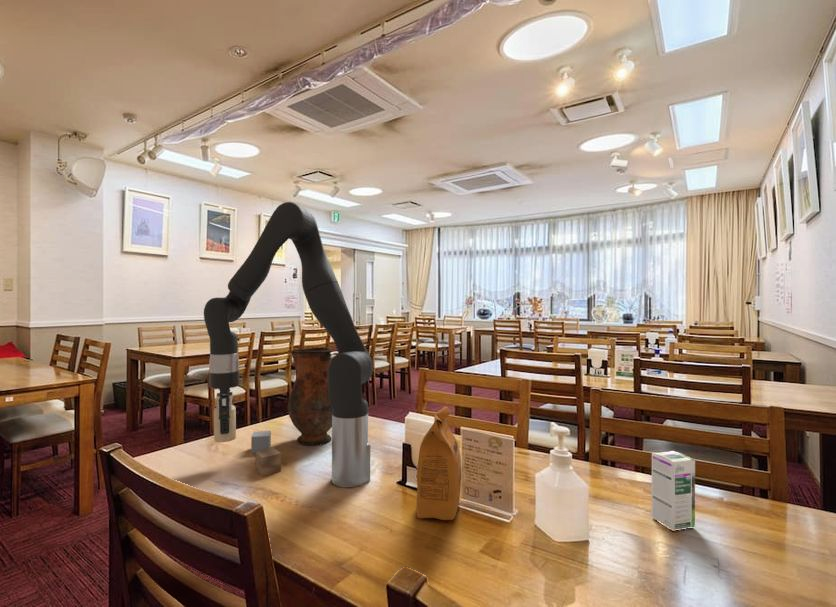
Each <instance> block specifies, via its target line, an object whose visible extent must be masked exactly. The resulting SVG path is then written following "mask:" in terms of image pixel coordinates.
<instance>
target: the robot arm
mask: <svg viewBox="0 0 836 607" xmlns="http://www.w3.org/2000/svg"><path fill="white" fill-rule="evenodd" d="M288 240H291V241H292V243H293V245H294V247H295V249H296V251H297V255H298V257H299V260H300V262H301V286H302V290H303V293H304V296H305V298H306V302H307V304H308V307H309V309H310V311H311V313H312V315H313V316H314V317H315V319H316V320H317V322H319V324H320V325H321V326H322V327H323V328H324V329H325V331H327V333H328V334H329V336H330V337H331V339H332V341H333V343H334V345H335V348H336V349H337V353H339V354H338V355H333V357H332V358H331V359H330V364H329V368H328V392H329V402H330V405H331V408H332V427H331V482H332V484H334V485H335V486H337V487H341V488H354V487H359V486H361V485H364V484H365V483H368V482H371V443H370V442H369V403H368V401H367V400H366V399H364V398H363V392H362V390H363V387H362V386H363V384H365V383H366V382H368V381H369V380H370V379H371V377H372V376H373V371H374V366H373V364H374V363H373V361H372V358H371V355H370V354H369V352H368V349H367V348H366V345H365V344H364V343H363V340H362V338H361V336H360V334H359V332H358V331H357V328H356V326H355V323H354V321H353V317H352V316H351V313H350V312H351V311H349V308H348V305H347V303H346V300H345V297H344V294H343V291H342V289H341V287H340V284H339V282H338V279H337V277H336V275H335V272H334V270H333V267H332V265H331V263H330V260H329V258H328V256H327V253H326V251H325V248H324V245H323V241H322V238H321V235H320V230H319V227H318V223H317V220H316V217H315V216H314V215H313V213H312V212H310V211H309V210H308V209H307V208H305V207H303V206H301V205H299V204H298V203H295V202H291V201H286V202H282V203H281V204H279V205H278V206H277V207H276V208H275V210H274V211H273V213H272V214H271V216H270V217H269V220H268V221H267V223H266V225H265V227H264V229H263V230H262V232H261V234H260V235H259V238H258V240H257V242H256V243H255V245H254V247H253V249H252V250H251V251H250V253H249V255H248V256H247V257H246V259H245V261H243V263H242V264H241V266H240V267H239V268H238V270H237V271H235V273H234V274H233V276H232V277H231V278H230V280H229V281H228V283H227V289H228V290H229V291H228V294H227V295H226V296H225V297H213V298H210V299H209V300H208V301H207V302H206V303H205V305H204V309H203V319H204V324H205V326H206V330H207V334H208V338H209V365H208V367H209V368H208V370H209V371H208V372H209V373H208V374H209V375H208V376H209V377H208V378H209V388H210V389H213V390H219V392H217V393H216V402H217V406H218V412H219V420H220V433H221V434H228V433H229V420H230V413H229V412H230V411H231V404H232V403H233V402H232V401H233V391H231V388H232V389H233V388H236V387H238V386H239V385H240V358H239V347H238V346H239V340H238V339H239V338H238V335H237V333H236V332H234V331H231V328H230V323H234V322H236V321H238V320H239V319H240V318H241V317H242V316H243V314H244V313H245V311H246V310H247V309H248V308H247V307H248V305H249V304H250V301H251V299H252V297H253V296H254V295H255V293H256V292H257V291H258V289H259V288H260V286H261V285H262V284H263V283H264V281H265V280H266V279H267V277H268V275H269V273H270V270H271V266H272V263H273V261H274V258H275V256H276V254H277V252H278V251H279V250H280V248H281V247H282V246H283V245H284V244H285V243H286V242H287V241H288ZM232 405H233V404H232ZM224 411H227V415H222V412H224Z"/></svg>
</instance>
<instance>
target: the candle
mask: <svg viewBox="0 0 836 607" xmlns="http://www.w3.org/2000/svg"><path fill="white" fill-rule="evenodd" d="M236 408H237V407H236V406H235V405H234V404H231V411H230V412H229V413H230V420H229V433H228V434H221V433H220V420H219V412H218V405H217V406H215V408H214V409H213V440H214V442H215V443H216V442H217V443H227V442H228V443H229V442H231V441H232V442H233V441H234V440H235V439H237V438H236V437H237V419H236V418H237V416H236V414H237V411H236V410H237V409H236ZM222 415H227V411H224V412H222Z"/></svg>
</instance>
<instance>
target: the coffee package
mask: <svg viewBox="0 0 836 607" xmlns="http://www.w3.org/2000/svg"><path fill="white" fill-rule="evenodd" d="M450 415H451V410H450V409H449V407H448V406H444V407H442V408H441V409H439V410H438V411H436V413H434V418H433V419H434V421H433V424H432V426H431V427H430V428H429V429H428V431H427V432H426V433H425V434H424V436H423V438H422V441H421V443H420V447H419V452H418V460H417V469H416V487H417V488H416V507H415V509H416V510H415V511H416V517H417V518H418V519H438V520H442V521H450V520H451V521H453V520H454V519H455V518H456V516H457V512H458V509H459V504H460V498H461V486H462V459H461V458H462V457H461V451H460V447H459V444H458V440H457V439H456V437H455V435H454V434H453V432H452V431H451V429H450V426H449V423H448V421H447V420H448V419H447V417H449V416H450Z"/></svg>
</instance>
